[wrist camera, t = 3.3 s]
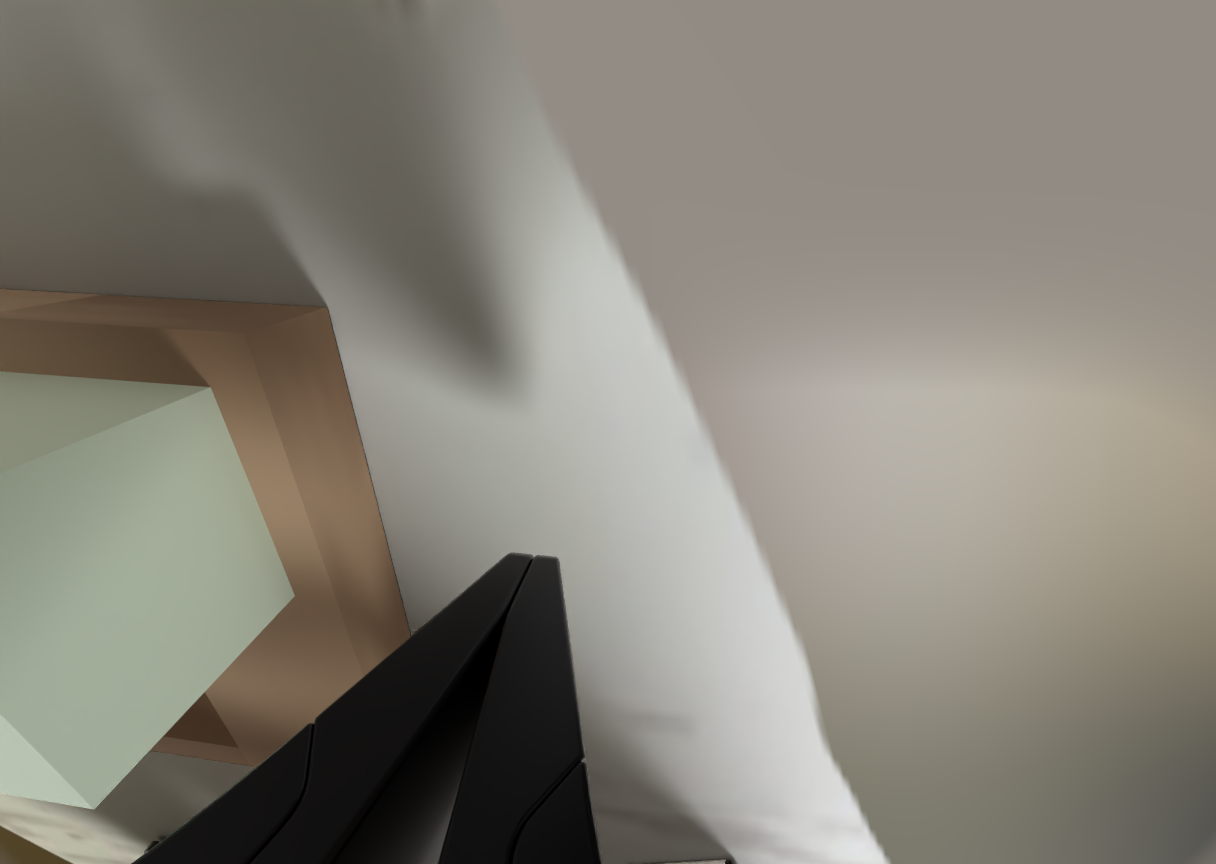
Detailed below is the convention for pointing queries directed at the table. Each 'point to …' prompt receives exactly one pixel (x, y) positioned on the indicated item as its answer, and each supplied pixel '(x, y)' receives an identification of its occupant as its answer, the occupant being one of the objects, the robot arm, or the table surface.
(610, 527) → the table surface
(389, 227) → the table surface
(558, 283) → the table surface
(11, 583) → the block
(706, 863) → the gable box
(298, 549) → the board
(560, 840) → the robot arm
